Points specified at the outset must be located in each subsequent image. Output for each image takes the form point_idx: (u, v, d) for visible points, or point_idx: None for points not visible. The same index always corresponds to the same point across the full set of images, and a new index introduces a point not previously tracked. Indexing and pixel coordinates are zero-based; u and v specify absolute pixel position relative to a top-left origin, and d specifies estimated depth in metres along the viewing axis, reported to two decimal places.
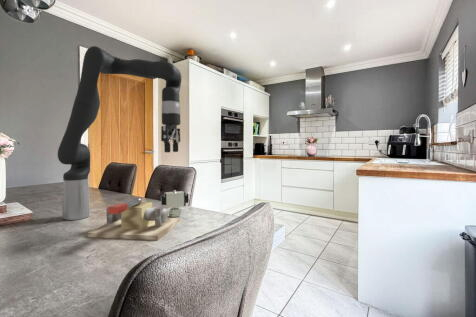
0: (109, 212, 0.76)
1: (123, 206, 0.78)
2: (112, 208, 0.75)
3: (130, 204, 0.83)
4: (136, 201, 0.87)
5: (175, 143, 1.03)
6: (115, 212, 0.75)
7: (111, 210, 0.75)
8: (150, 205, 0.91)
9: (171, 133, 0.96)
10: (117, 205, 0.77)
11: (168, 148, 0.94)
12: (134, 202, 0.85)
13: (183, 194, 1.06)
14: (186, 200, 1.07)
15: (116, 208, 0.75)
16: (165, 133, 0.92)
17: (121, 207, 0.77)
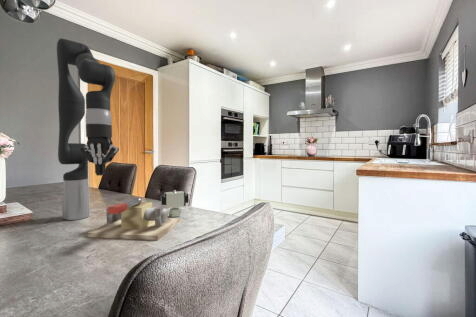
0: (109, 212, 0.76)
1: (123, 206, 0.78)
2: (112, 208, 0.75)
3: (130, 204, 0.83)
4: (136, 201, 0.87)
5: None
6: (115, 212, 0.75)
7: (111, 210, 0.75)
8: (150, 205, 0.91)
9: None
10: (117, 205, 0.77)
11: None
12: (134, 202, 0.85)
13: (183, 194, 1.06)
14: (186, 200, 1.07)
15: (116, 208, 0.75)
16: (113, 156, 0.79)
17: (121, 207, 0.77)
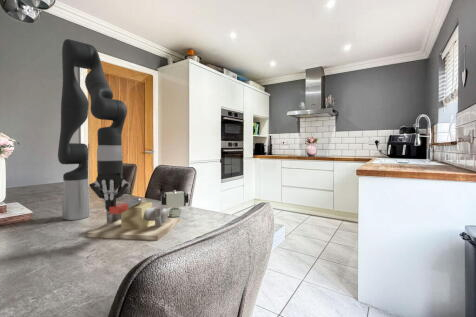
0: (111, 212, 0.75)
1: (124, 206, 0.78)
2: (113, 208, 0.75)
3: (131, 204, 0.83)
4: (136, 201, 0.87)
5: None
6: (116, 212, 0.75)
7: (112, 210, 0.75)
8: (150, 205, 0.91)
9: None
10: (118, 205, 0.77)
11: None
12: (134, 202, 0.85)
13: (183, 194, 1.06)
14: (186, 200, 1.07)
15: (117, 208, 0.75)
16: None
17: (122, 207, 0.77)
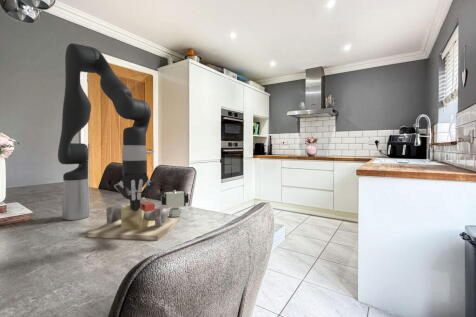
0: (146, 210, 0.78)
1: None
2: (149, 206, 0.78)
3: None
4: None
5: None
6: (152, 209, 0.79)
7: (148, 207, 0.78)
8: None
9: None
10: (148, 203, 0.80)
11: None
12: None
13: (183, 194, 1.06)
14: (186, 200, 1.07)
15: (153, 205, 0.79)
16: None
17: None
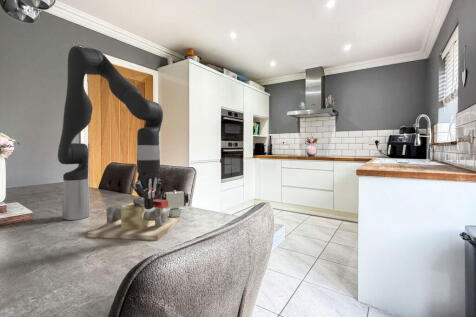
0: (162, 207, 0.82)
1: None
2: (164, 202, 0.83)
3: None
4: None
5: None
6: (166, 205, 0.84)
7: (163, 204, 0.82)
8: None
9: None
10: (161, 200, 0.84)
11: None
12: None
13: (183, 194, 1.06)
14: (186, 200, 1.07)
15: (167, 201, 0.84)
16: None
17: None
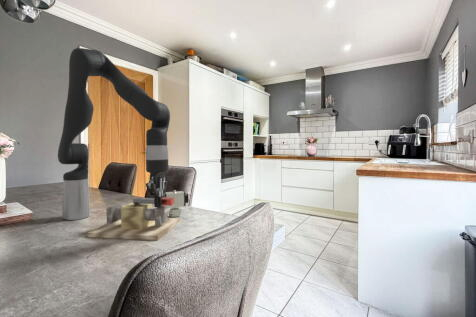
0: (171, 204, 0.87)
1: None
2: (172, 199, 0.88)
3: None
4: None
5: None
6: (173, 202, 0.89)
7: (172, 201, 0.87)
8: (150, 205, 0.91)
9: None
10: (167, 198, 0.88)
11: None
12: None
13: (183, 194, 1.06)
14: (186, 200, 1.07)
15: (173, 199, 0.89)
16: None
17: None
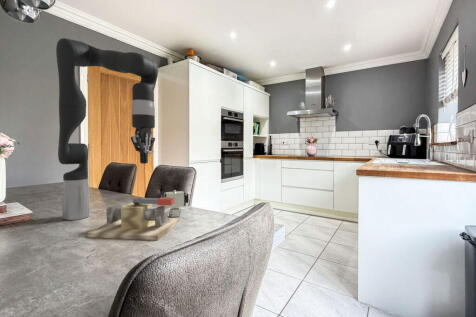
0: (171, 204, 0.87)
1: None
2: (172, 199, 0.88)
3: None
4: None
5: None
6: (173, 202, 0.89)
7: (172, 201, 0.87)
8: (150, 205, 0.91)
9: None
10: (167, 198, 0.88)
11: None
12: None
13: (183, 194, 1.06)
14: (186, 200, 1.07)
15: (173, 199, 0.89)
16: None
17: None
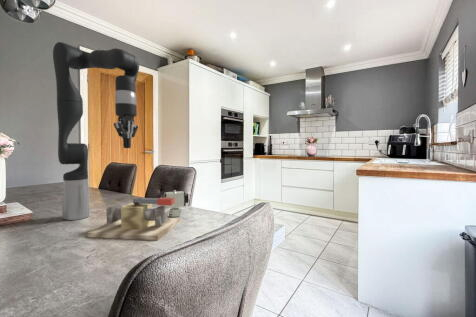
0: (171, 204, 0.87)
1: None
2: (172, 199, 0.88)
3: None
4: None
5: None
6: (173, 202, 0.89)
7: (172, 201, 0.87)
8: (150, 205, 0.91)
9: None
10: (167, 198, 0.88)
11: None
12: None
13: (183, 194, 1.06)
14: (186, 200, 1.07)
15: (173, 199, 0.89)
16: None
17: None
